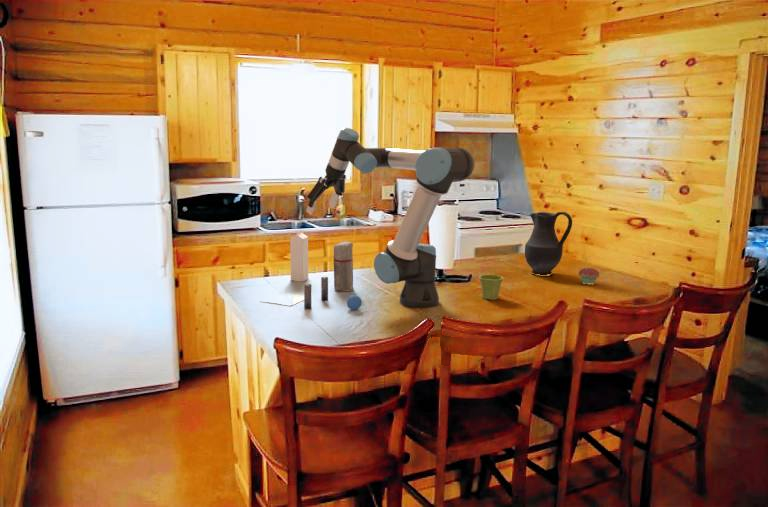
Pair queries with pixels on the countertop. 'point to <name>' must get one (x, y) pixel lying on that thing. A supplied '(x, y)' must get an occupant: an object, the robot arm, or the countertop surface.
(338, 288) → the spray can
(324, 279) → the right post
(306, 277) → the milk
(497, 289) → the plant pot
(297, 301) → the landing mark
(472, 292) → the countertop surface
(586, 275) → the cupcake
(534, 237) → the pitcher
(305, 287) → the left post
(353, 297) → the ball
